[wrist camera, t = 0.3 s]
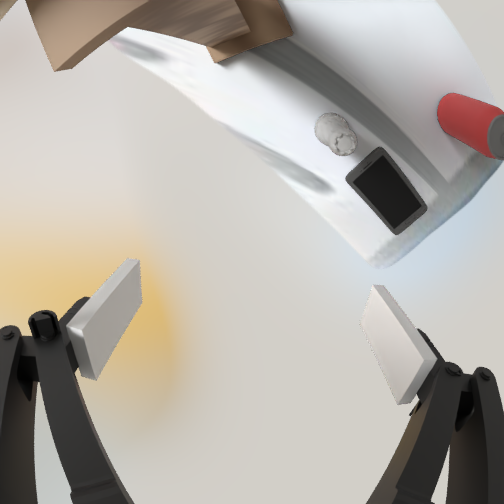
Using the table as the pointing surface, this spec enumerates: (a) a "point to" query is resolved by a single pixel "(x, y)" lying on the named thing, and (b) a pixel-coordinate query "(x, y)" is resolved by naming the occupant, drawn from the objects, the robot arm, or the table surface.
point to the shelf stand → (155, 24)
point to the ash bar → (5, 6)
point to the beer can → (473, 123)
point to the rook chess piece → (335, 134)
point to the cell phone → (387, 191)
